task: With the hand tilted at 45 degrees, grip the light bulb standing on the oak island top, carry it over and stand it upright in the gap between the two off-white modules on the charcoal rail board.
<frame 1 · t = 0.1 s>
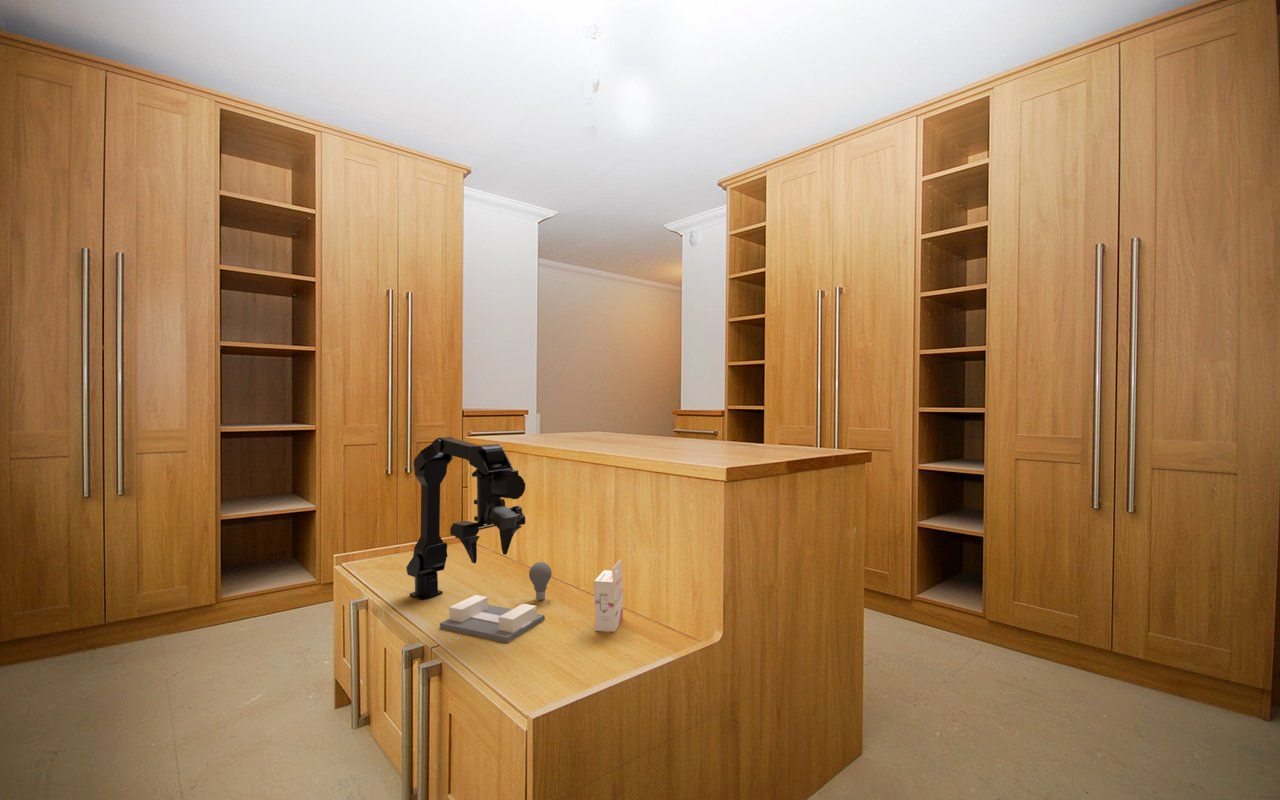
hand: (489, 558, 136), 15 cm above the table, tool pointing down, fingers open, 9 cm apart
rail board: (493, 624, 133), on the table
light bulb: (540, 600, 149), on the table
ink cartridge box: (609, 625, 131), on the table
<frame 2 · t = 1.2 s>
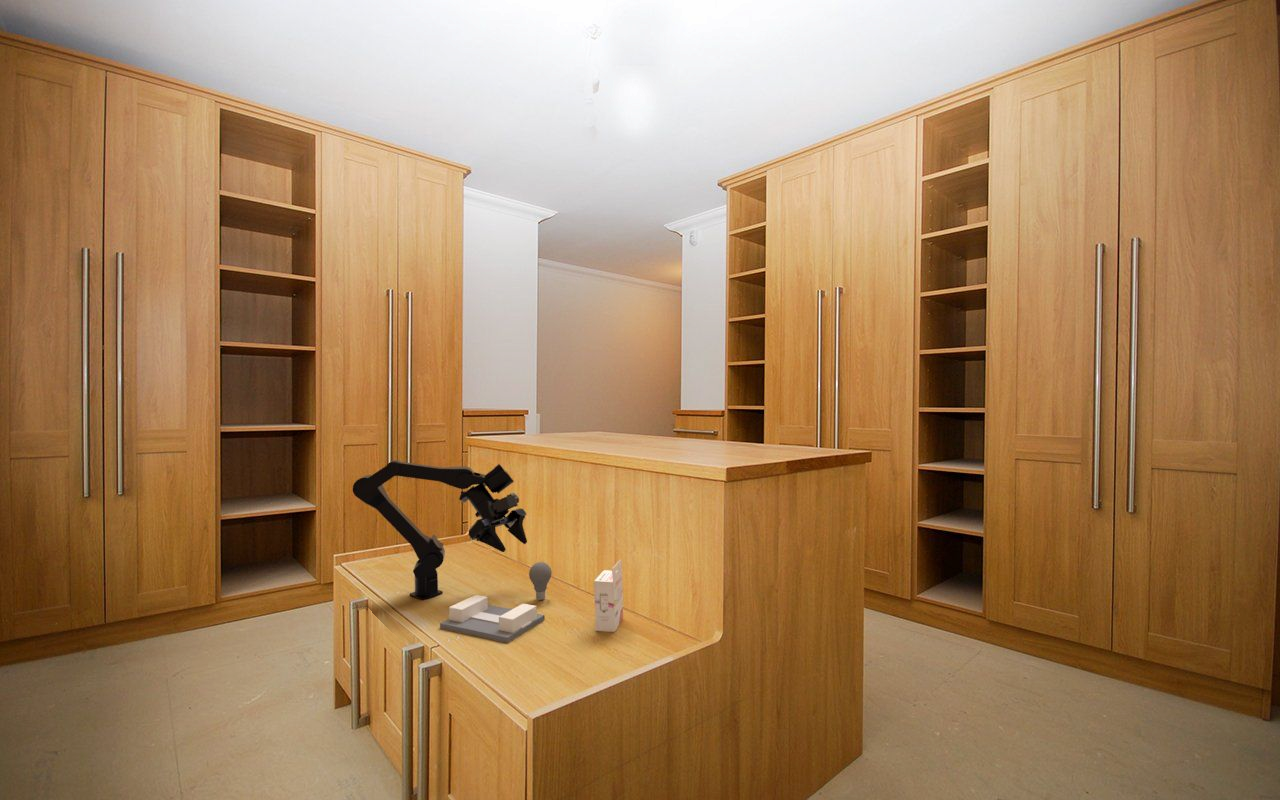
hand: (515, 547, 152), 13 cm above the table, tool tilted 45°, fingers open, 9 cm apart
nothing on the table moved.
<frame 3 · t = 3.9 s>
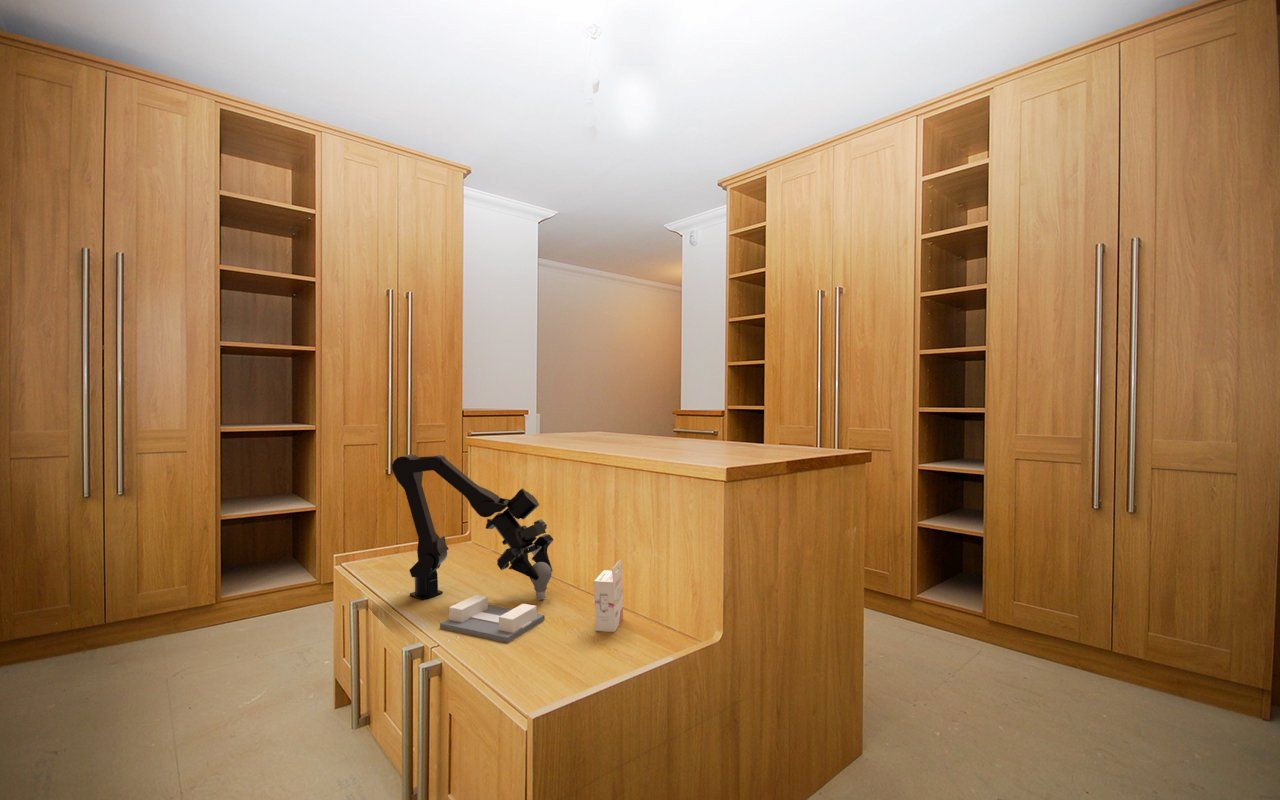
hand: (544, 575, 148), 7 cm above the table, tool tilted 45°, fingers closed on light bulb, 6 cm apart
light bulb: (540, 600, 149), on the table, touching gripper
everything else where it was.
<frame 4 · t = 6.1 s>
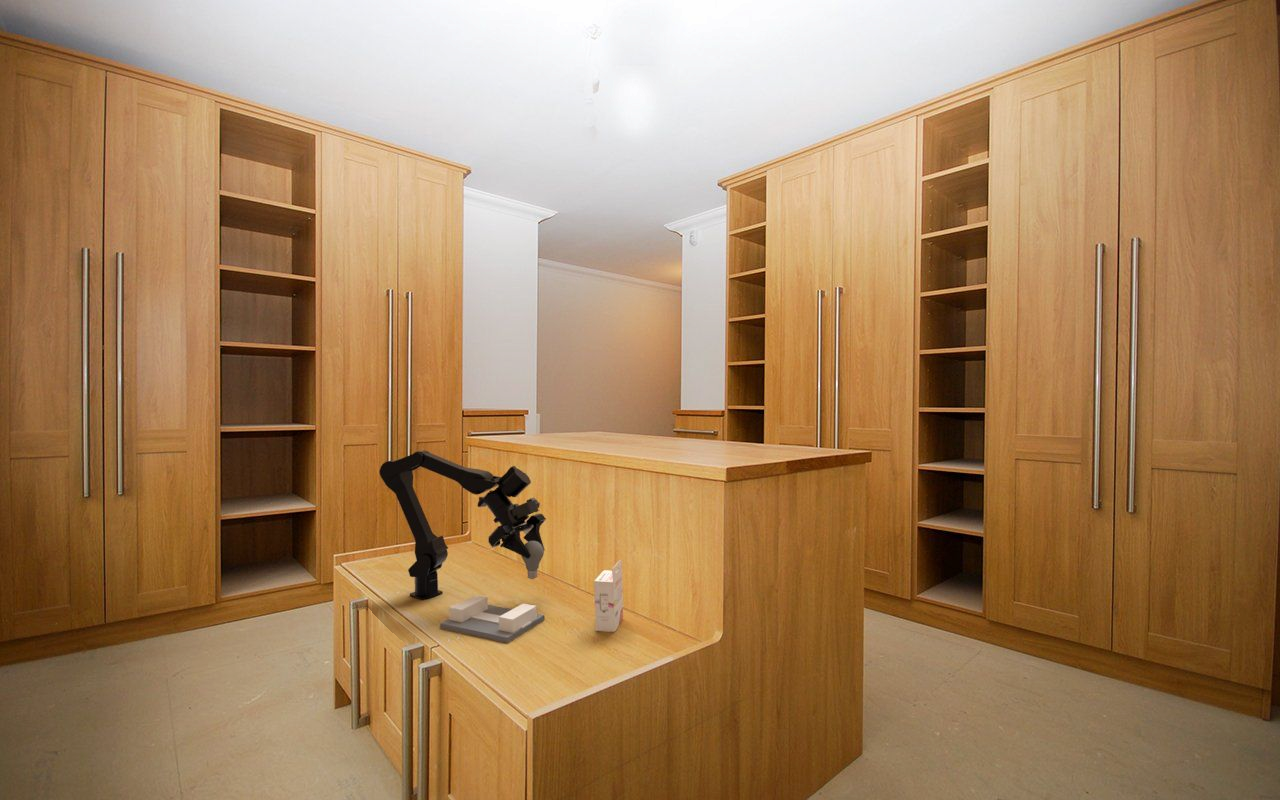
hand: (536, 554, 146), 13 cm above the table, tool tilted 45°, fingers closed on light bulb, 6 cm apart
light bulb: (532, 579, 146), point 6 cm above the table, touching gripper
everything else where it was.
when the fingers open (9 cm above the table, at t = 8.5 s): light bulb drops 1 cm, resting on rail board.
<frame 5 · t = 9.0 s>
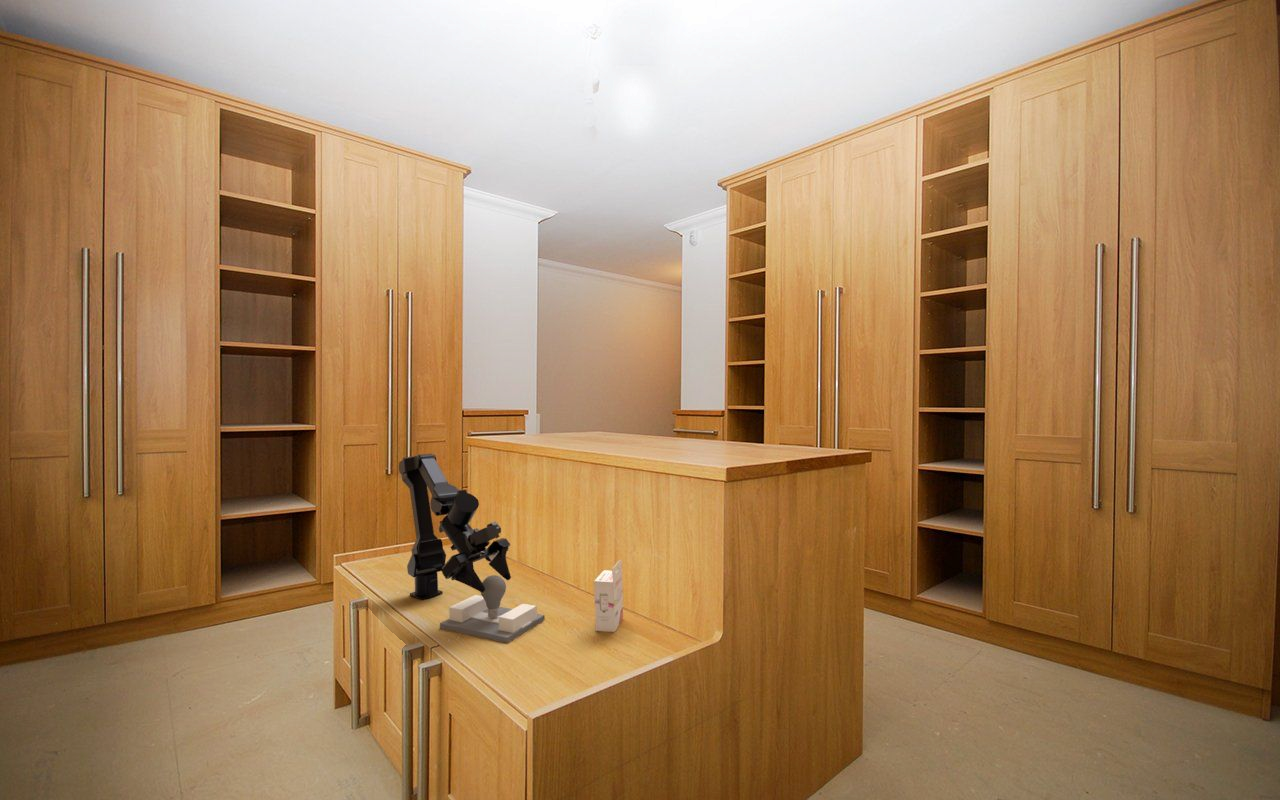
hand: (497, 585, 132), 10 cm above the table, tool tilted 45°, fingers open, 9 cm apart
light bulb: (493, 618, 133), point 1 cm above the table, touching rail board
everything else where it was.
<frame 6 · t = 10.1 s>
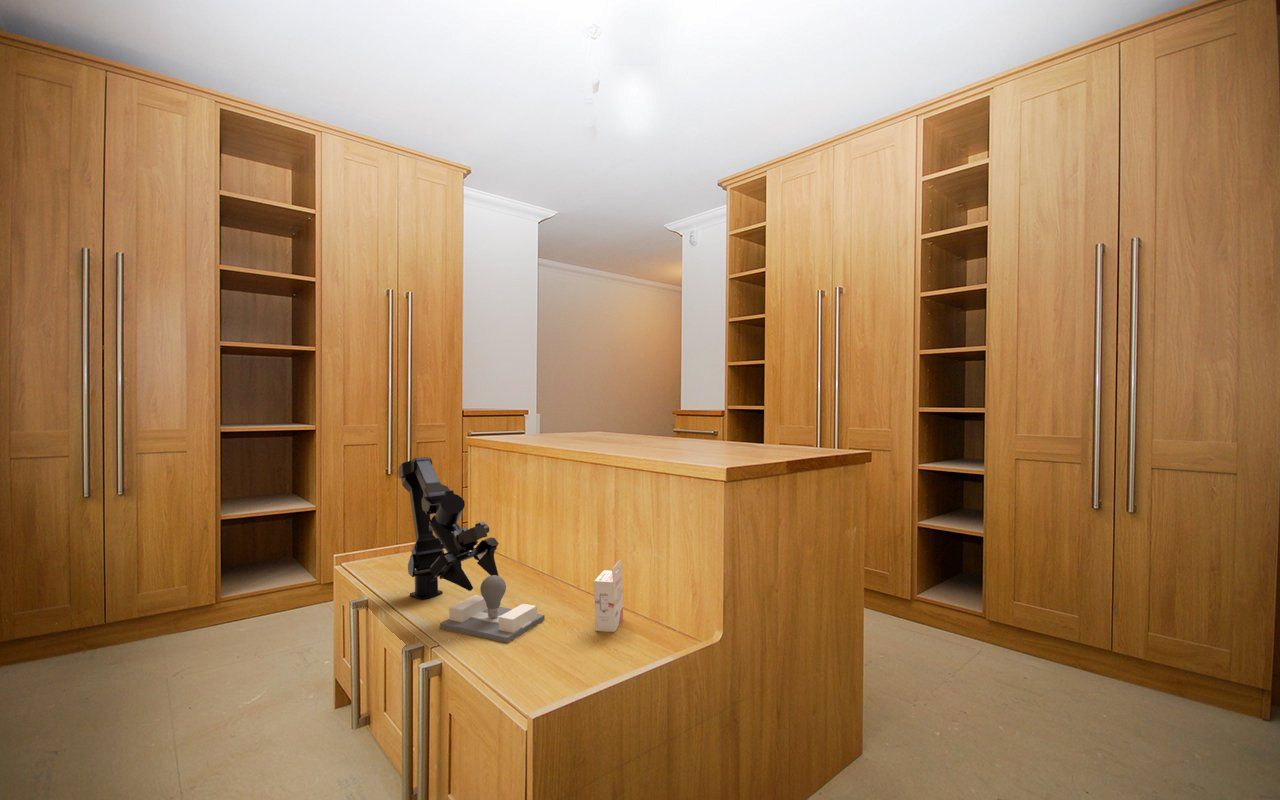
hand: (485, 583, 134), 9 cm above the table, tool tilted 45°, fingers open, 9 cm apart
nothing on the table moved.
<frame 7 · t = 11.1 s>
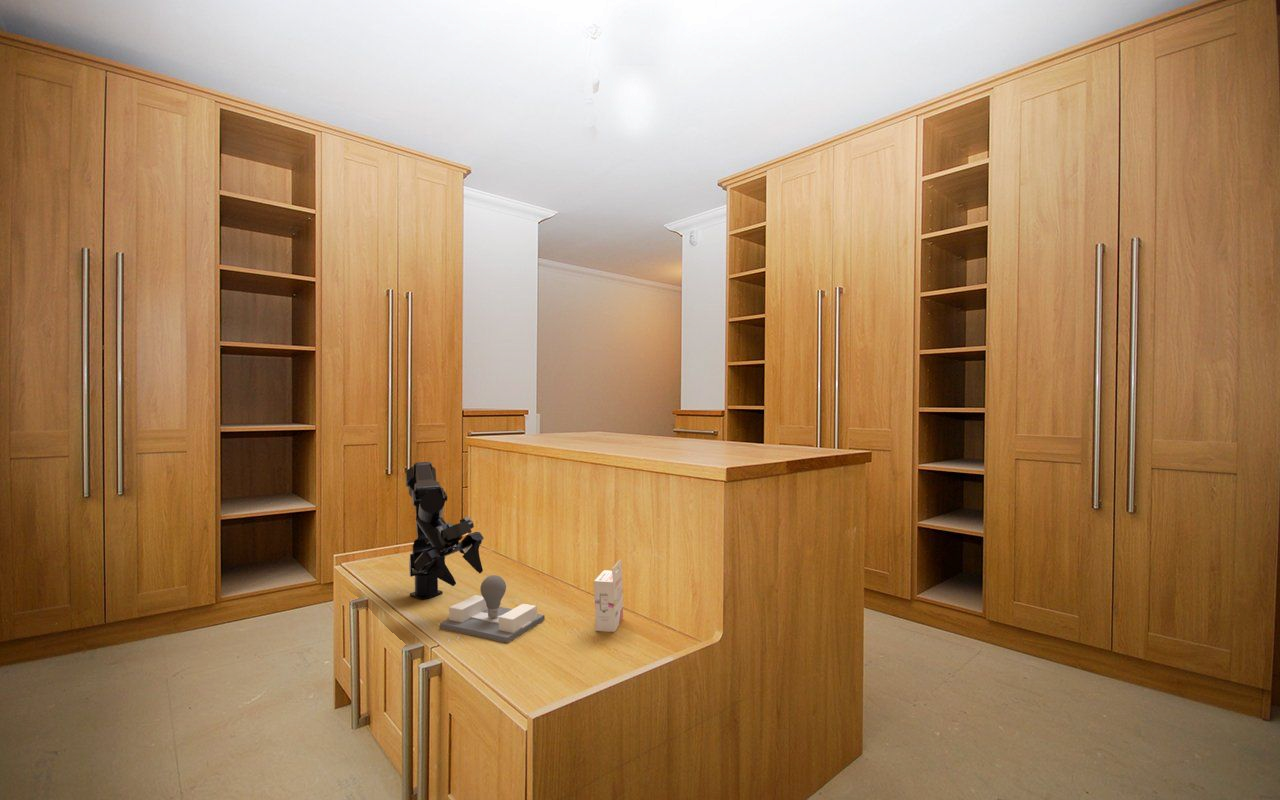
hand: (468, 578, 137), 10 cm above the table, tool tilted 40°, fingers open, 9 cm apart
nothing on the table moved.
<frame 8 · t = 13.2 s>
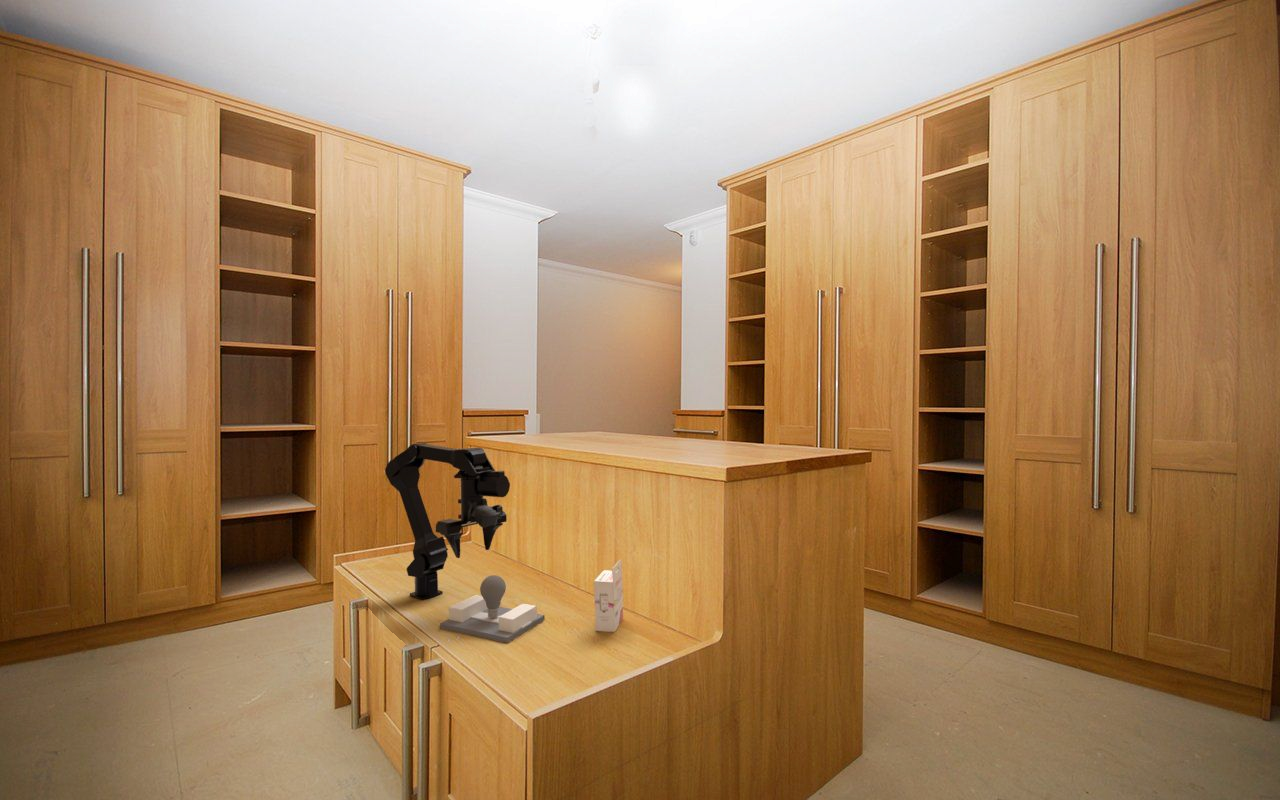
hand: (473, 553, 147), 13 cm above the table, tool pointing down, fingers open, 9 cm apart
nothing on the table moved.
at the end: light bulb 0.3 cm off-centre on the rail board, point 1.3 cm above the rail board's base; light bulb tilted 0°; the gripper is holding nothing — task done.
